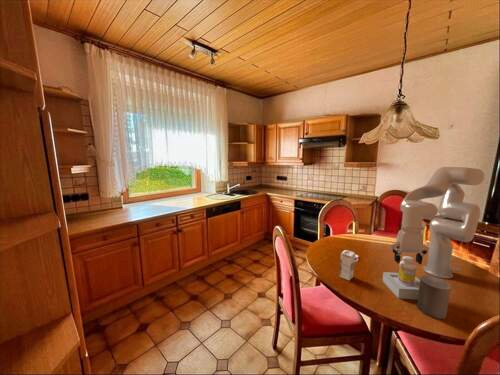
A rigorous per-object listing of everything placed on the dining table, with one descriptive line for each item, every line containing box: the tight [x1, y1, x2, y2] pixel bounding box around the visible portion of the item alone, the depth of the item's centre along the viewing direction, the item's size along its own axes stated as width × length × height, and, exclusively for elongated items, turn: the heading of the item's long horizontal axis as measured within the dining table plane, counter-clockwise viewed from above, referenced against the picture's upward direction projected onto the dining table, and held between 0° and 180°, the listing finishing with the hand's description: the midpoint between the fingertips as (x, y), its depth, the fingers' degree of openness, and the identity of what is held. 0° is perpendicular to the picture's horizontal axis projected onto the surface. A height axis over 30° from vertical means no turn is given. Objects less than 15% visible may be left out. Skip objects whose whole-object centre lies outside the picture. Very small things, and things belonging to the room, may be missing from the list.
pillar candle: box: [416, 274, 452, 320], centre depth 88 cm, size 10×10×15 cm
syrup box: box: [338, 249, 356, 281], centre depth 113 cm, size 6×6×14 cm
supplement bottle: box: [397, 255, 417, 286], centre depth 101 cm, size 7×7×13 cm
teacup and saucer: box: [355, 254, 360, 262], centre depth 135 cm, size 9×8×4 cm
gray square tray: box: [382, 271, 420, 301], centre depth 102 cm, size 14×14×5 cm
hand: (407, 262), depth 101 cm, fingers open, 9 cm apart
